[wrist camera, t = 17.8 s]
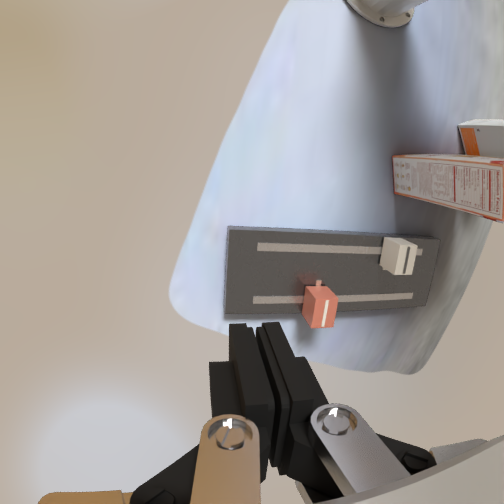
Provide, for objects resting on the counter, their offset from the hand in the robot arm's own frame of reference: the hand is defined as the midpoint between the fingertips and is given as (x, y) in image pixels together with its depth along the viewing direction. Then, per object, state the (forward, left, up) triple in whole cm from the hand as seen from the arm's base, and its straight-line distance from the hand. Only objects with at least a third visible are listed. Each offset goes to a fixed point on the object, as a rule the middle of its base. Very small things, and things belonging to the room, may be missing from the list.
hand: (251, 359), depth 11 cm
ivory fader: (+4, +24, -28) cm, 37 cm away
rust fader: (+11, +14, -28) cm, 33 cm away
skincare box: (-15, +40, -30) cm, 52 cm away
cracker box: (-8, +31, -30) cm, 44 cm away
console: (+7, +18, -30) cm, 36 cm away
